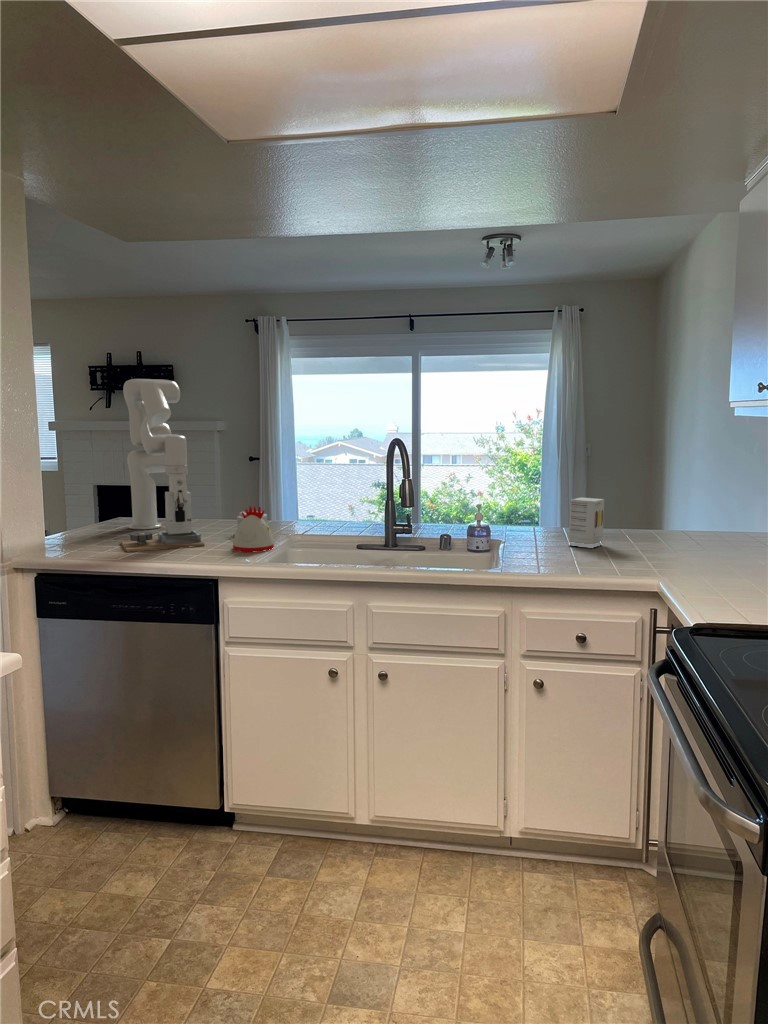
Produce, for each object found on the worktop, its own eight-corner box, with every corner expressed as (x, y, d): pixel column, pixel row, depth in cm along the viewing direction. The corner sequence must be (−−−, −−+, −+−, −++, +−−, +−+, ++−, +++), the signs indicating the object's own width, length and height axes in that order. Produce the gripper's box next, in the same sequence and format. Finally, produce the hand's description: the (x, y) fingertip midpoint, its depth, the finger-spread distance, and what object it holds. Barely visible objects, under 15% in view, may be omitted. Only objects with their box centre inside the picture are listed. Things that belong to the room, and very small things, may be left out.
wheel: (129, 538, 254) (129, 532, 253) (150, 536, 257) (150, 531, 257) (131, 541, 247) (131, 536, 247) (153, 540, 251) (153, 534, 250)
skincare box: (168, 534, 253) (167, 493, 251) (165, 532, 258) (163, 491, 256) (192, 533, 257) (191, 491, 255) (188, 530, 262) (187, 490, 260)
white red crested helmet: (265, 553, 241) (264, 509, 239) (226, 551, 244) (225, 508, 242) (279, 545, 255) (278, 503, 253) (242, 544, 257) (241, 502, 255)
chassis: (120, 543, 258) (120, 531, 257) (194, 537, 269) (193, 526, 269) (126, 552, 242) (126, 539, 241) (204, 546, 253) (204, 533, 253)
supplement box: (592, 549, 248) (595, 501, 246) (567, 546, 254) (569, 499, 251) (602, 545, 256) (605, 498, 253) (578, 542, 261) (580, 496, 259)
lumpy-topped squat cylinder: (270, 531, 283) (270, 510, 282) (257, 537, 271) (256, 514, 269) (245, 530, 286) (245, 509, 284) (231, 536, 273) (231, 513, 272)
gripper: (192, 471, 248) (194, 523, 251) (182, 468, 264) (184, 516, 266) (169, 472, 245) (172, 524, 248) (161, 469, 260) (163, 518, 263)
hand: (178, 520), depth 257 cm, fingers closed on skincare box, 6 cm apart
